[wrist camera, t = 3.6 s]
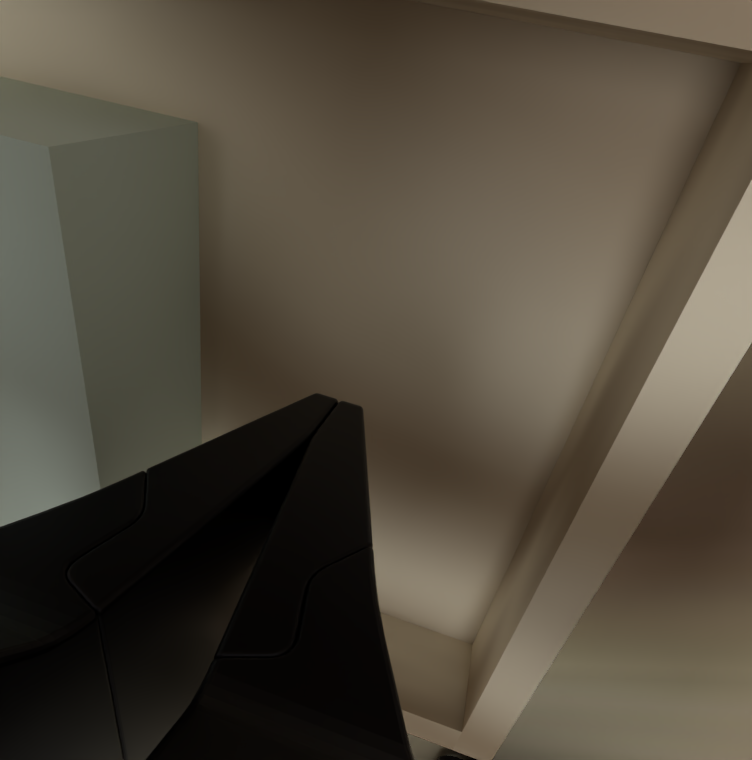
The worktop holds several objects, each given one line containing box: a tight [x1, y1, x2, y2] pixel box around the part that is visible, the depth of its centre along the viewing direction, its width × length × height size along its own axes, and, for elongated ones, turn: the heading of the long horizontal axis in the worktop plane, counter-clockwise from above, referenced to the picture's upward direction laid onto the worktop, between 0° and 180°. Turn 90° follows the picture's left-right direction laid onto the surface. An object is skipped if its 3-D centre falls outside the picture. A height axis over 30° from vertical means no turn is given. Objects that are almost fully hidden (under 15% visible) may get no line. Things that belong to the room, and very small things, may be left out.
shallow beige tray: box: [0, 0, 752, 760], centre depth 10 cm, size 14×16×2 cm
